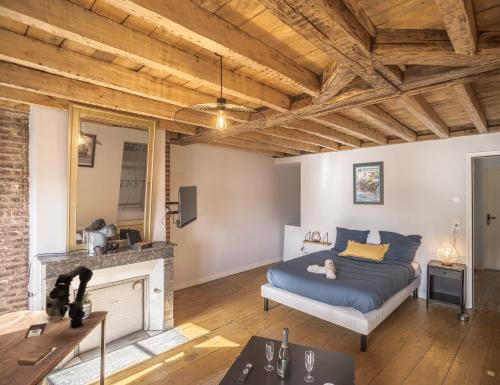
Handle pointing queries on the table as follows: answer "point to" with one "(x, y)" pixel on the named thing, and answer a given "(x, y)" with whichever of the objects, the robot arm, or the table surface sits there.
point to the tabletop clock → (51, 311)
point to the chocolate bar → (35, 330)
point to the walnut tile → (34, 355)
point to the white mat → (46, 355)
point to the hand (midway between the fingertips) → (62, 317)
